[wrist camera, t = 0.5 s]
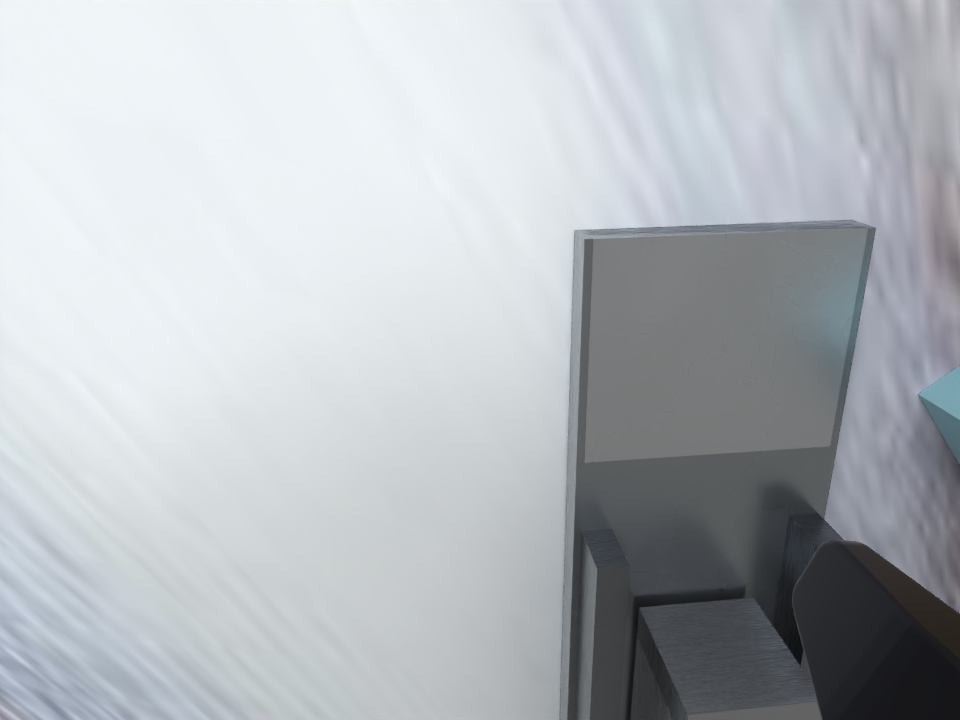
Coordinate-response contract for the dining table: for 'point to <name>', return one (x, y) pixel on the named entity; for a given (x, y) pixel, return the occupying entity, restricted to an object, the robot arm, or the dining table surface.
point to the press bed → (699, 428)
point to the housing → (945, 408)
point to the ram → (716, 665)
